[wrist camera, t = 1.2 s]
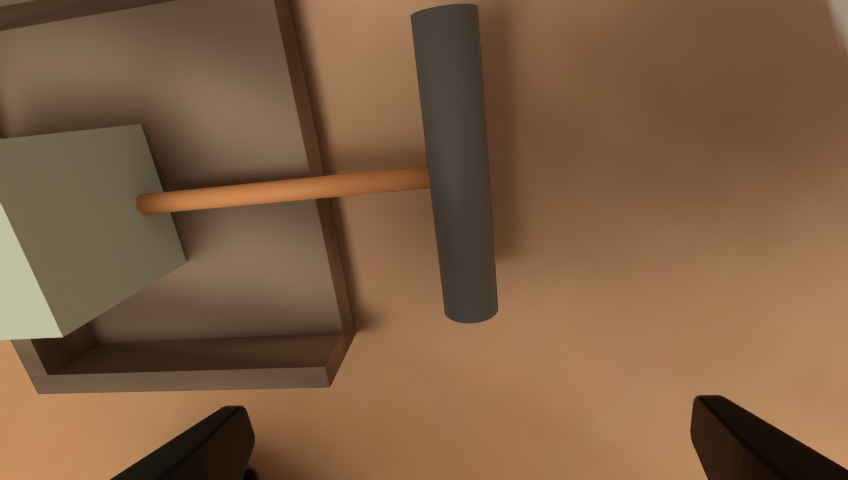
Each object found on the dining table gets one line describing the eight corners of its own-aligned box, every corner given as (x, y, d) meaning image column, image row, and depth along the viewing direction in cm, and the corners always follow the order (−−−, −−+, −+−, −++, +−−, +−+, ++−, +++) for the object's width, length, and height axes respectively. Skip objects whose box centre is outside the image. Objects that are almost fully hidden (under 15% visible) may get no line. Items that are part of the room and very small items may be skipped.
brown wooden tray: (355, 333, 21) (329, 387, 17) (109, 343, 23) (38, 393, 19) (282, -38, 16) (221, -77, 12) (-29, 19, 18) (-164, 0, 14)
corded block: (495, 285, 17) (506, 379, 12) (87, 308, 20) (-63, 393, 15) (477, 17, 14) (479, -31, 8) (-7, 90, 17) (-247, 90, 11)
